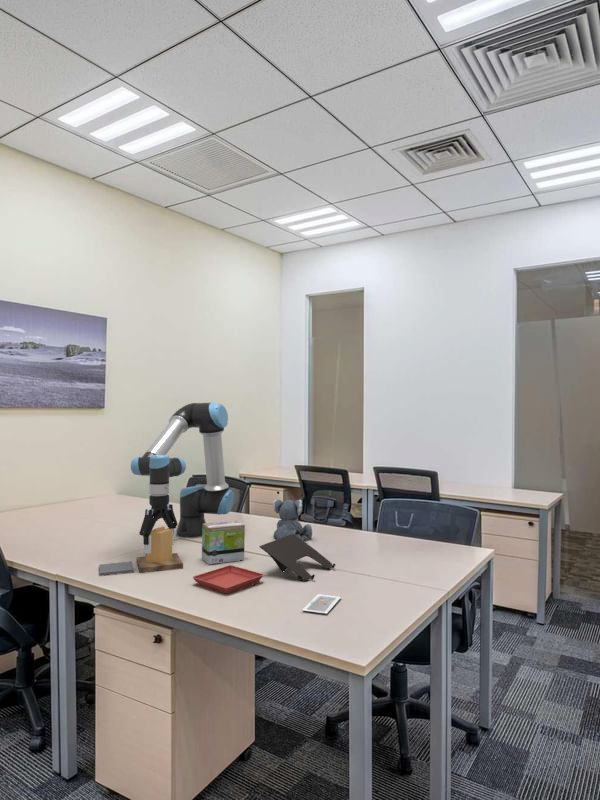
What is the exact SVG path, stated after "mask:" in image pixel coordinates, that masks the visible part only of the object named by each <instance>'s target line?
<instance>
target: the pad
mask: <svg viewBox="0 0 600 800" xmlns="http://www.w3.org/2000/svg"><path fill="white" fill-rule="evenodd" d="M99 569H100V570H99V576H100V575H104V576H108V575H107V574H114V575H118V574H117V573H123V574H130V573H129V572H132V573H134V572H135V570H134V565H133V562H132V561H121V562H112V563H103V564H102V563H101V564H100V563H99Z"/></svg>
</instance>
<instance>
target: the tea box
mask: <svg viewBox="0 0 600 800" xmlns="http://www.w3.org/2000/svg"><path fill="white" fill-rule="evenodd" d="M245 531H246V527H245V524H244V523H242V522H241V521H238V520H227V521H218V522H217V521H216V522H206V523H203V525H202V536H201V559H202V560H203V562H205V563H206V564H208V566H210V565H215V564H221V563H222V564H224V563H232V562H239V561H240V560H243V561H244V560H245V535H246V534H245Z"/></svg>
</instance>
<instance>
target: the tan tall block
mask: <svg viewBox="0 0 600 800" xmlns="http://www.w3.org/2000/svg"><path fill="white" fill-rule="evenodd" d="M147 533H148V532H147ZM149 536H151V553H150V554H149V553H145V556H146V561H147V562H154V563H163V562H165V561H168V560H170V559H172V553H173V545H172V529H167V528H165V526H160V527H157V528H153V529H152V531H151V533H150V535H149Z"/></svg>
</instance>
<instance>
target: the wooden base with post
mask: <svg viewBox="0 0 600 800" xmlns="http://www.w3.org/2000/svg"><path fill="white" fill-rule="evenodd" d="M136 565H137V568H138V571H139V572H138V573H139V574H145V573H146V572H147V573H155V571H156V572H163V571H175V570H182V569H184V562H183V560H182V559H181V557H180V555H179V554H178V553H177V552H174V553H173V552H172V559H170V560H168V561H165V562H163V563H154V562H147V561H146V555H142V556H136ZM147 573H146V574H147Z"/></svg>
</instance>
